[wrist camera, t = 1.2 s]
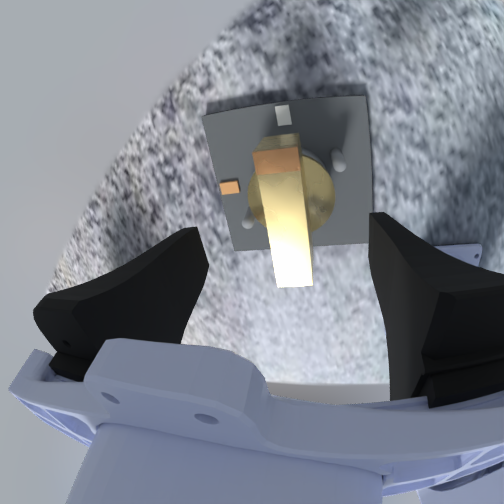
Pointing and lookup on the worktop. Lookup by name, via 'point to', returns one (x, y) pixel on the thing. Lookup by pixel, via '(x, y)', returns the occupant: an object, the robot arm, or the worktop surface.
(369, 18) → the worktop surface
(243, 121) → the post base
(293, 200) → the lever handle
